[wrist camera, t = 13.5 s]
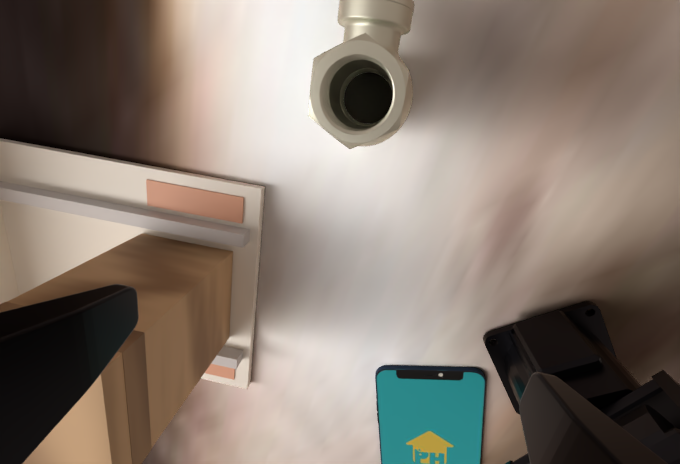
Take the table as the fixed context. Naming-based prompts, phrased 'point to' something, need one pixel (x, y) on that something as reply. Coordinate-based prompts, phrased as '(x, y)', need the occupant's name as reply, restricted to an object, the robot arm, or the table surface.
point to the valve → (363, 70)
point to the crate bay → (126, 226)
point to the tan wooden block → (142, 346)
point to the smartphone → (430, 414)
